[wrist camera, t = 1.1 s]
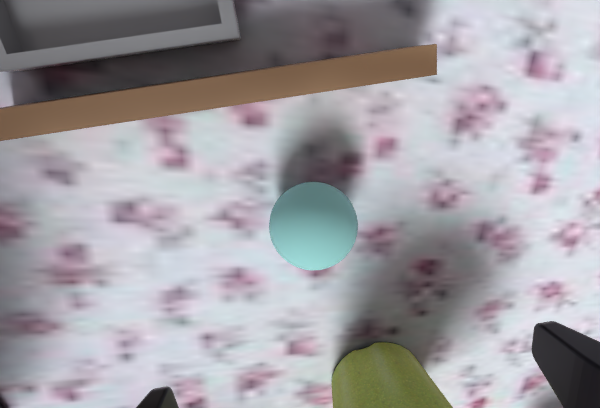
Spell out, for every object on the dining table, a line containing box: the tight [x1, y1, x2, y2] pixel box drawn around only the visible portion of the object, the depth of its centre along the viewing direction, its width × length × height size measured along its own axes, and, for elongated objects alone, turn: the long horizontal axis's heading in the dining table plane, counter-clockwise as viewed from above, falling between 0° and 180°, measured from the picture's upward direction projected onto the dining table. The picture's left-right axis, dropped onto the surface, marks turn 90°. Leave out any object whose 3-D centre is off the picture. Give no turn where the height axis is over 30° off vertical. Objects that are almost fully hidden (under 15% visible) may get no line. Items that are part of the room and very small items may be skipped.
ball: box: [269, 182, 358, 270], centre depth 19 cm, size 4×4×4 cm
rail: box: [0, 44, 437, 141], centre depth 17 cm, size 1×19×3 cm, turn 97°
